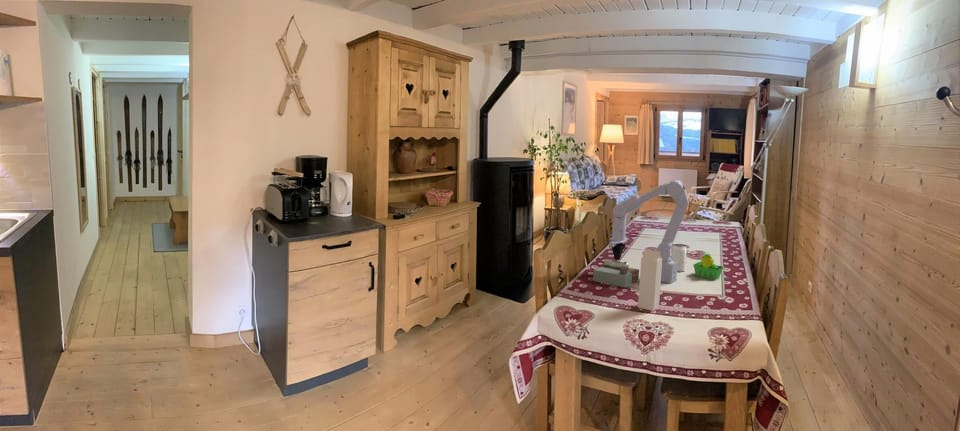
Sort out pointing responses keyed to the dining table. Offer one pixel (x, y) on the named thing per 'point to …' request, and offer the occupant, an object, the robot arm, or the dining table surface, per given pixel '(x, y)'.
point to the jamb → (634, 271)
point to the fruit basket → (707, 268)
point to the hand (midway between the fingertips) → (617, 259)
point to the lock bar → (616, 263)
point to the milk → (650, 280)
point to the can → (679, 256)
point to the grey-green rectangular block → (613, 276)
